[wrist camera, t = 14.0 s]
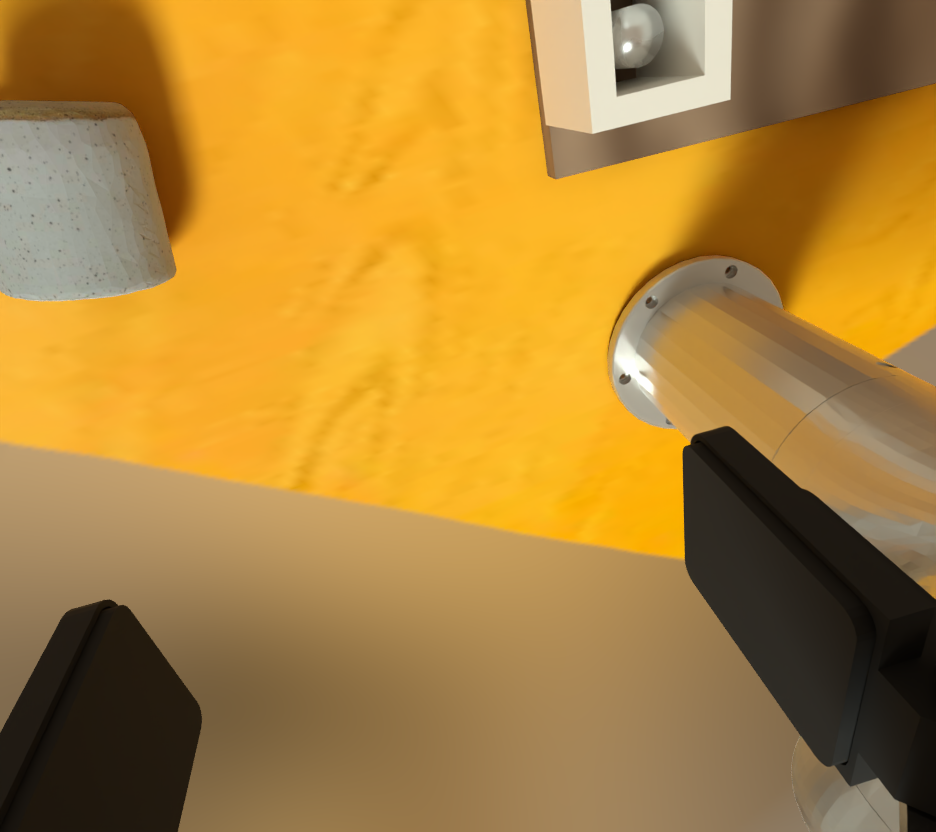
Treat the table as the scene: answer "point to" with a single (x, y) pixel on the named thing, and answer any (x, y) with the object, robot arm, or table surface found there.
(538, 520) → the table surface
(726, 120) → the walnut board
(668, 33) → the cream housing
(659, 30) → the metal stub
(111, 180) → the ceramic mug
